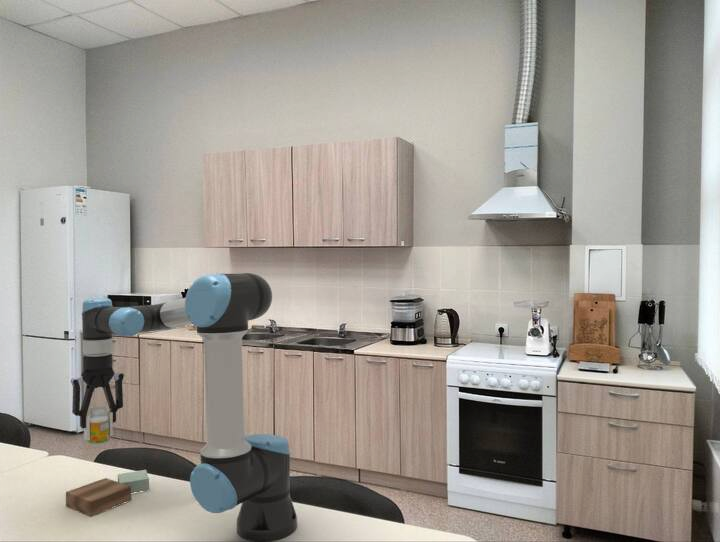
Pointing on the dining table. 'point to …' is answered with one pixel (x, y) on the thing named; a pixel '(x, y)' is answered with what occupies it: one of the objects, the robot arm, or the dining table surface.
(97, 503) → the walnut block
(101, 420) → the supplement bottle
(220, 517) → the dining table surface
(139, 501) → the dining table surface
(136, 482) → the greygreen block
